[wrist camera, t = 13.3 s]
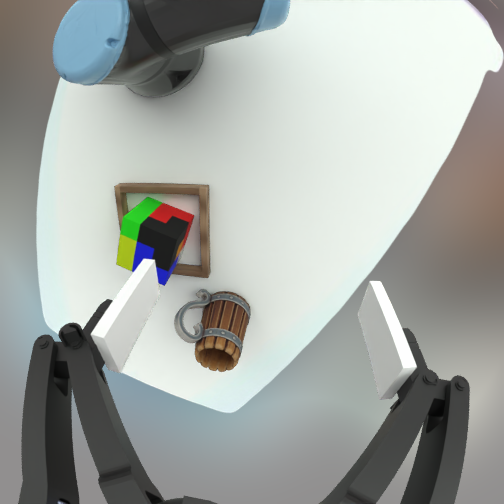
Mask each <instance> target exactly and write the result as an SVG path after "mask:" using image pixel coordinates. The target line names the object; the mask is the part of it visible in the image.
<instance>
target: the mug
mask: <svg viewBox="0 0 504 504" xmlns="http://www.w3.org/2000/svg"><path fill="white" fill-rule="evenodd" d="M196 296H198V297H202V298H203V301H191V302H189V303H187V304H186V305H184V306H183V307H182V308H181V309H180V310H179V311H178V313H177V314H176V316H175V320H174V325H175V329H176V332H177V334H178V335H179V337H180V338H181V339H183V340H184V341H186V342H188V343H195V342H196V344H195V357H196V360H197V362H199V363H201V365H202V366H203V367H205V368H207V367H209V369H210V370H212V371H216V370H217V369H218V370H219V371H220V372H224V371H226V370H232V369H233V368H234V367H235V366H236V365H237V363H238V360H239V358H240V356H241V352H242V347H243V346H242V344H243V340H244V336H245V332H246V328H247V325H248V323H249V319H250V314H251V313H250V307H249V304H248V303H247V302H246V300H245V299H244V298H242V297H241V296H239V295H237V294H235V293H232V292H217V293H215V294H212V295H211V296H210V294H209V293H208V292H207V291H206V290H204V289H201V290H200V291H199V292H198V293H197V294H196ZM193 308H203V316H202V320H201V323H198V324H196V325H195V326H194V327H193V328H194V330H195V335H192V334H190V333H189V332H188V331H187V330H186V329H185V327H184V324H183V317H184V314H185V313H186V311H187V310H188V309H193Z"/></svg>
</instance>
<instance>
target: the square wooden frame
mask: <svg viewBox="0 0 504 504" xmlns="http://www.w3.org/2000/svg"><path fill="white" fill-rule="evenodd" d="M126 193H166V194H190V195H199V203H200V240H201V264H202V266H195V265H186V264H177V265H176V267H175V268H174V270H173V272H172V274H177V275H186V276H194V277H203V278H208V277H209V274H210V240H209V185H196V184H164V183H120V184H118V185H116V186H115V196H116V204H117V211H118V218H119V225H120V231H121V226H122V220H123V217H124V216H125V215H126V214H127V213H128V206H127V198H126Z"/></svg>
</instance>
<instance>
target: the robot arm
mask: <svg viewBox="0 0 504 504" xmlns="http://www.w3.org/2000/svg"><path fill="white" fill-rule="evenodd" d="M289 8H290V0H78V1H77V2H76V3H75V4H74V5H73V6H72V7H71V8H70V9H69V11H68V12H67V13H66V15H65V16H64V18H63V19H62V21H61V23H60V25H59V29H58V31H57V33H56V35H55V39H54V44H53V61H54V65H55V68H56V70H57V72H58V73H59V75H60V76H61V77H62V78H63V79H65V80H66V81H69V82H71V83H77V84H82V85H94V84H112V85H126V86H127V87H128V88H129V89H130V90H131V91H133V92H134V93H136V94H139V95H142V96H148V97H160V96H166V95H169V94H172V93H175V92H177V91H178V90H180V89H182V88H183V87H184V86H186V85H187V84H188V83H189V82H190V81H191V80H192V79H193V78H194V76H195V75H196V74H197V72H198V70H199V68H200V66H201V64H202V60H203V55H204V46H208V45H211V44H214V43H218V42H222V41H225V40H229V39H233V38H237V37H241V36H251V35H254V34H255V33H257V32H261V31H265V30H270V29H274V28H277V27H278V26H280V25H281V24H283V23H284V22H285V20H286V18H287V16H288V13H289ZM159 297H160V289H159V283H158V277H157V271H156V264H155V260H151V259H143V261H142V262H141V263H140V264H139V266H138V267H137V268H136V270H135V271H134V272H133V274H132V275H131V277H130V278H129V279H128V281H127V282H126V283H125V285H124V286H123V287H122V289H121V290H120V292H119V293H118V294H117V296H116V297H115V299H114V300H109V299H107V300H106V301H104V302H103V303H102V304H100V306H99V307H98V308H97V310H96V312H95V313H94V314H93V316H92V317H91V318H90V320H89V321H88V323H87V324H86V326H85V327H84V329H83V330H82V328H81V326H80V325H79V324H77V323H68V324H66V325H64V326H63V327H62V328H61V329H60V331H59V338H60V339H61V341H62V342H55V341H54V340H53V338H52V337H51V336H50V335H42V336H40V337H38V338H37V340H36V341H35V343H34V346H33V351H32V355H31V360H30V365H29V371H28V377H27V384H26V390H25V400H24V408H23V421H22V475H23V483H22V488H21V493H20V498H19V503H18V504H79V493H78V487H77V480H76V472H75V465H74V455H73V442H72V419H71V396H72V390H73V394H74V398H75V403H76V406H77V410H78V414H79V417H80V421H81V424H82V428H83V431H84V434H85V437H86V440H87V443H88V446H89V449H90V452H91V454H92V457H93V459H94V462H95V465H96V467H97V470H98V472H99V476H100V477H99V479H98V481H99V485H100V488H101V490H102V492H103V494H104V497H105V499H106V501H107V503H108V504H217V503H214V502H211V501H208V500H203V499H198V498H192V497H188V496H184V498H176V499H170V500H166V501H165V500H164V499H163V497H162V496H161V494H160V493H159V491H158V490H157V488H156V487H155V486H154V484H153V483H152V482H151V480H150V479H149V477H148V475H147V474H146V472H145V470H144V468H143V466H142V464H141V462H140V460H139V458H138V456H137V454H136V452H135V450H134V448H133V446H132V444H131V442H130V440H129V437H128V435H127V433H126V431H125V428H124V426H123V423H122V421H121V419H120V416H119V414H118V411H117V409H116V406H115V403H114V401H113V398H112V395H111V393H110V390H109V387H108V384H107V381H106V377H105V374H104V371H103V370H102V367H103V366H104V364H106V366H107V368H108V370H111V371H114V372H117V373H121V371H122V369H123V367H124V365H125V363H126V361H127V359H128V357H129V355H130V353H131V351H132V349H133V347H134V345H135V343H136V341H137V339H138V337H139V335H140V333H141V331H142V329H143V327H144V325H145V323H146V321H147V319H148V317H149V315H150V314H151V312H152V310H153V308H154V306H155V304H156V302H157V300H158V299H159ZM358 318H359V321H360V325H361V328H362V332H363V335H364V339H365V343H366V346H367V350H368V354H369V357H370V362H371V366H372V370H373V373H374V378H375V382H376V387H377V391H378V396H379V399H380V400H382V399H392V398H393V397H394V395H395V394H396V393H397V394H398V397H399V399H398V400H397V401H396V402H395V403H394V404H393V405H392V406H391V408H390V409H391V411H390V413H389V414H388V416H387V418H386V419H385V421H384V423H383V424H382V426H381V427H380V429H379V430H378V432H377V434H376V435H375V436H374V438H373V439H372V441H371V442H370V444H369V445H368V447H367V448H366V449H365V451H364V452H363V454H362V455H361V456H360V458H359V459H358V460H357V462H356V463H355V464H354V465H353V467H352V468H351V469H350V471H349V472H348V473H347V474H346V476H345V477H344V478H343V479H342V480H341V482H340V483H339V484H338V485H337V486H336V487H335V489H334V490H333V491H332V492H331V493H330V494H329V495H328V496H327V497H326V498H325V499H324V500H323V501H322V502H320V503H319V504H376V502H377V501H378V500H379V498H380V497H381V495H382V494H383V492H384V491H385V490H386V488H387V487H388V485H389V484H390V482H391V481H392V479H393V478H394V476H395V474H396V473H397V471H398V469H399V468H400V466H401V464H402V463H403V461H404V459H405V458H406V456H407V454H408V452H409V450H410V448H411V447H412V445H413V443H414V441H415V439H416V437H417V435H418V433H419V431H420V428H421V427H422V425H423V428H422V433H421V437H420V441H419V446H418V450H417V454H416V457H415V461H414V465H413V468H412V472H411V475H410V478H409V481H408V484H407V487H406V490H405V492H404V495H403V498H402V501H401V503H400V504H454V502H455V498H456V494H457V490H458V486H459V482H460V478H461V473H462V467H463V462H464V455H465V448H466V440H467V432H468V419H469V391H470V390H469V383H468V382H467V380H466V379H465V378H464V377H462V376H458V375H457V376H455V377H453V378H452V380H451V381H447V380H441V379H439V378H438V376H437V375H436V373H435V372H433V371H432V370H429V369H428V368H427V365H426V363H425V360H424V358H423V355H422V353H421V351H420V349H419V346H418V343H417V341H416V338H415V336H414V334H413V333H412V332H411V331H410V330H409V329H408V328H401V325H400V323H399V321H398V318H397V316H396V314H395V311H394V309H393V307H392V305H391V302H390V300H389V298H388V296H387V294H386V292H385V289H384V287H383V285H382V283H381V282H380V281H370V282H369V285H368V288H367V290H366V293H365V296H364V298H363V301H362V304H361V307H360V309H359V312H358ZM423 422H424V423H423Z"/></svg>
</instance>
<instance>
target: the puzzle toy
mask: <svg viewBox="0 0 504 504" xmlns="http://www.w3.org/2000/svg"><path fill="white" fill-rule="evenodd" d="M193 218H194V215H192V214H190V213H187V212H185V211H182V210H180V209H177V208H175V207H172V206H170V205H167V204H165V203H162V202H160V201H157V200H154V199H152V198H149V197H147V198H146V199H144V200H143V201H142V202H141V203H139V204H138V205H137V206H136V207H135V208H133V209H132V210H131V211H130V212H128V213H127V214H126V215H125V216H124V217H123V220H122V226H121V232H120V239H119V247H118V255H117V263H116V264H117V265H119V266H121V267H123V268H126V269H128V270H130V271H132V272H134V271H135V270H136V268H137V267H138V266H139V264H140V263H141V262H142V261H143V259H151V260H155V264H156V271H157V277H158V283H160V284H162V285H164V286H165V284H166V282H167V281H168V279H169V277H170V275H171V274H172V272H173V270H174V268H175V267H176V265H177V263H178V261H179V260H180V258H181V256H182V252H183V249H184V246H185V243H186V240H187V237H188V233H189V230H190V227H191V224H192V221H193Z"/></svg>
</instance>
